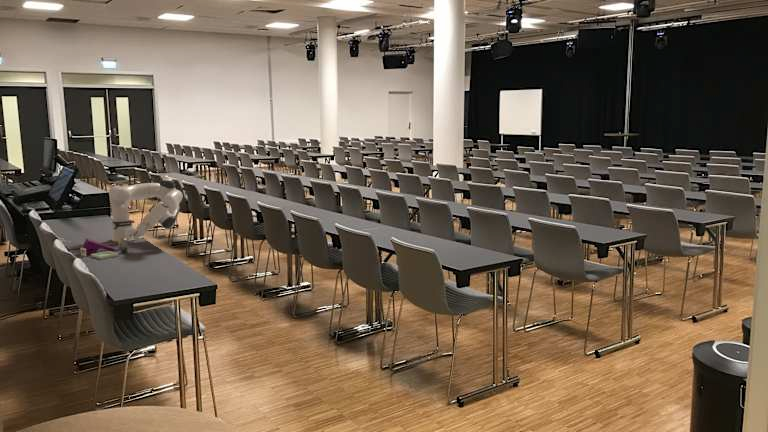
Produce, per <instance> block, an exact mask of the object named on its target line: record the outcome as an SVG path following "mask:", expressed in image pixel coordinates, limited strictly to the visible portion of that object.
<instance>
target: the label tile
mask: <svg viewBox="0 0 768 432" xmlns="http://www.w3.org/2000/svg"><path fill="white" fill-rule="evenodd" d="M87 255H88V254H87V253H86V249H85V248H83V247H80V256H82V257H87Z"/></svg>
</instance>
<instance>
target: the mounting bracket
mask: <svg viewBox="0 0 768 432" xmlns="http://www.w3.org/2000/svg"><path fill="white" fill-rule="evenodd" d="M82 248H85V249H86V255H88V256H91V254H94V253H98V251H99V249H103V250H105V251H111V252H114V251H115V249H116V248H115V247H113V246H111V245H108V244H105V243H102V242H99V241H96V240H93V239H89V238H88V237H86V238H85V241H84V244H83V246H82Z"/></svg>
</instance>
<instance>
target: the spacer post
mask: <svg viewBox="0 0 768 432" xmlns="http://www.w3.org/2000/svg"><path fill="white" fill-rule="evenodd" d="M120 242H121V249H120V253H121V254H127V253H128V241H127V239H120Z"/></svg>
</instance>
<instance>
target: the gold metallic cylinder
mask: <svg viewBox="0 0 768 432" xmlns="http://www.w3.org/2000/svg"><path fill="white" fill-rule="evenodd" d="M120 239H126V238H119V241H118V249H119V250H121V242H120Z"/></svg>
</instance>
